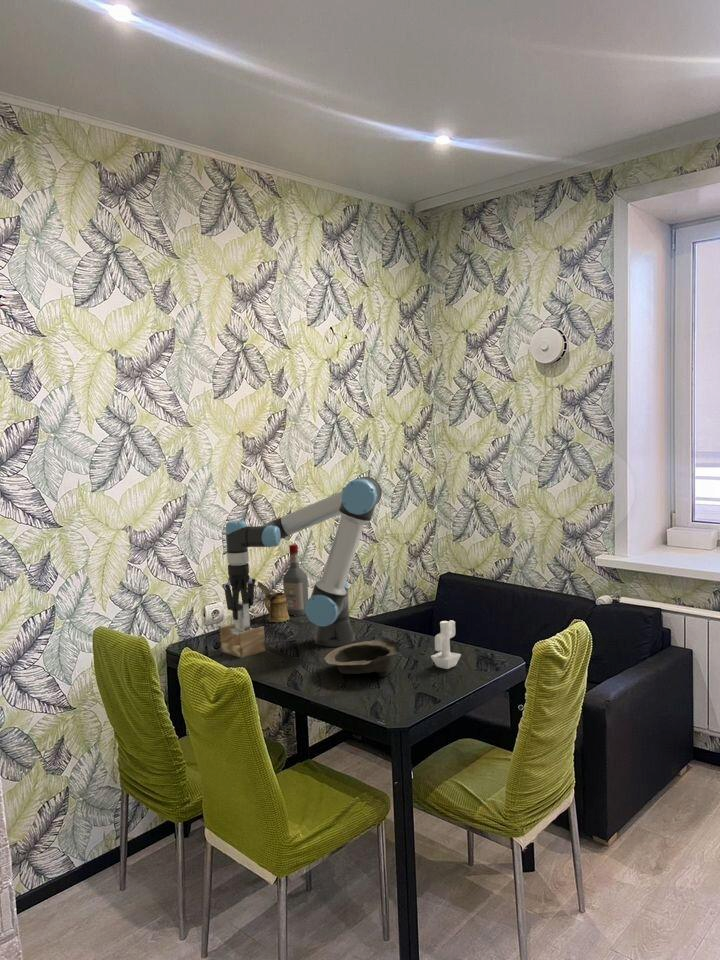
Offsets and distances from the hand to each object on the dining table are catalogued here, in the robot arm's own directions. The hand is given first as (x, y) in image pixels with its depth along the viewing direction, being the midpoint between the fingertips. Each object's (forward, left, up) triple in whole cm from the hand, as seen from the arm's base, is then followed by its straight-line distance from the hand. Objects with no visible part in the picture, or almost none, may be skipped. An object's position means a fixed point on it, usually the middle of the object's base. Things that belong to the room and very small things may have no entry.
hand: (241, 626), depth 269 cm
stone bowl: (-51, -11, -9) cm, 53 cm away
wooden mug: (+24, -33, -9) cm, 42 cm away
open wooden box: (0, 0, -9) cm, 9 cm away
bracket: (0, 0, -2) cm, 2 cm away
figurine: (-69, -32, -9) cm, 77 cm away
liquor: (+26, -47, -9) cm, 55 cm away
